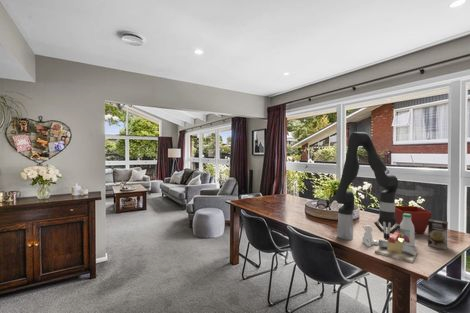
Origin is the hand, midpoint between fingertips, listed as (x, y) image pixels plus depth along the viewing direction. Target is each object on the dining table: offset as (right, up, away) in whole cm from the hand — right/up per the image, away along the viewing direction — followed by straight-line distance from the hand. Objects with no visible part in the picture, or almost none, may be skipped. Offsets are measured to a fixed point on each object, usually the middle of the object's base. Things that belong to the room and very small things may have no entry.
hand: (386, 239), depth 132 cm
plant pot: (+47, -9, +44) cm, 65 cm away
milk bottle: (+24, -10, +16) cm, 30 cm away
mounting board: (+8, -10, +4) cm, 13 cm away
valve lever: (+4, -1, 0) cm, 4 cm away
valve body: (+8, -8, +4) cm, 12 cm away
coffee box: (+42, -9, +14) cm, 45 cm away
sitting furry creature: (+1, -10, +19) cm, 21 cm away
